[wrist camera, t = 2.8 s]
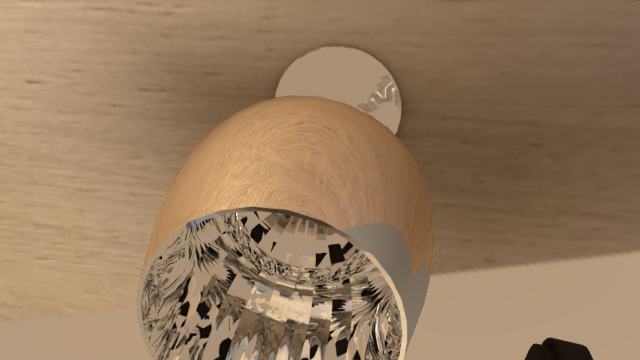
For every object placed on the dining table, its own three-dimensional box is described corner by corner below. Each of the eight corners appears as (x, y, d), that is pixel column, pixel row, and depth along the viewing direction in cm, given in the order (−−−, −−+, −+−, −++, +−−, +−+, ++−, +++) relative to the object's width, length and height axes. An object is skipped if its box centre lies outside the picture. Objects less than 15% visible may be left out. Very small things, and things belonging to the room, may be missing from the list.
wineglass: (362, 212, 23) (326, 497, 12) (227, 131, 22) (58, 355, 11) (455, 85, 20) (517, 296, 9) (308, -10, 20) (192, 100, 9)
